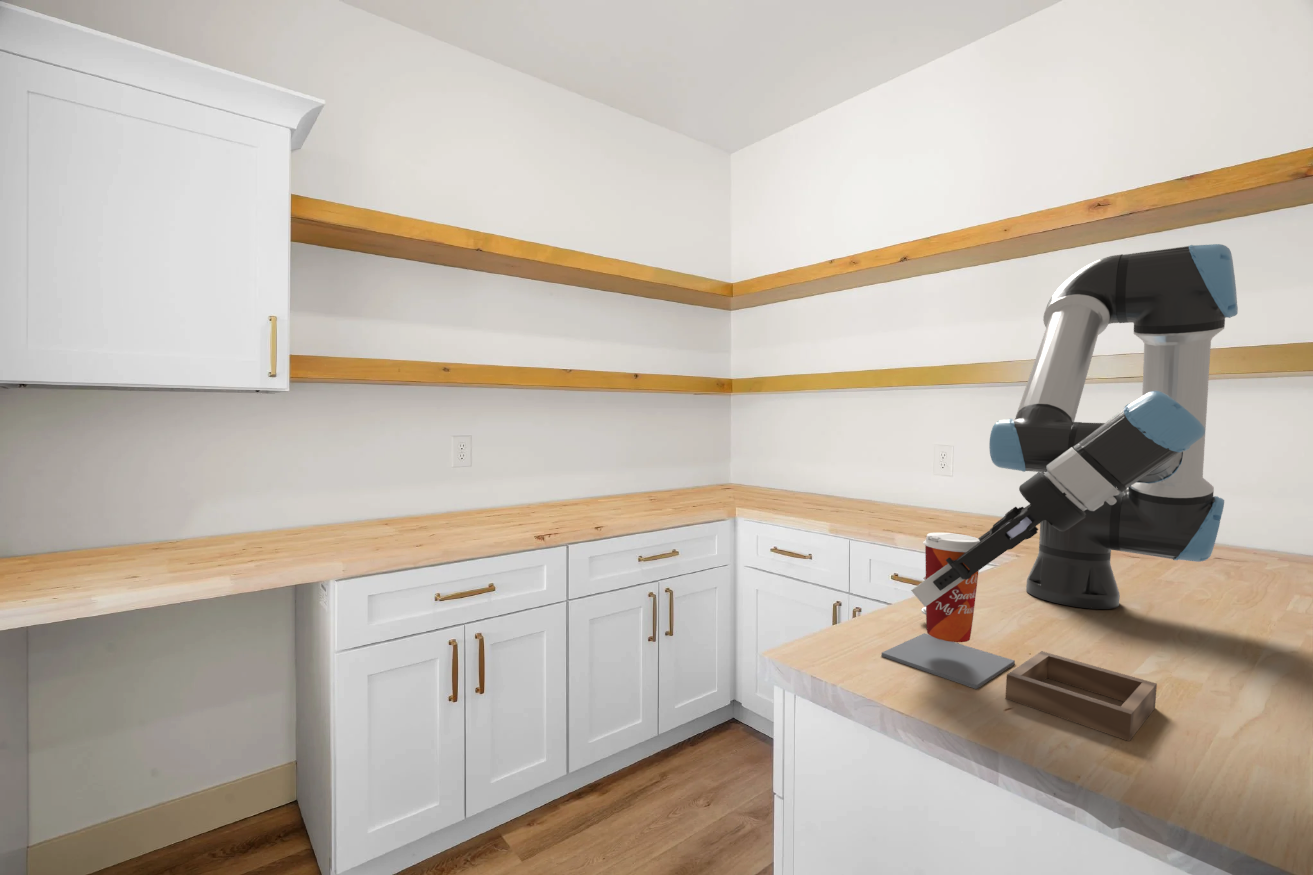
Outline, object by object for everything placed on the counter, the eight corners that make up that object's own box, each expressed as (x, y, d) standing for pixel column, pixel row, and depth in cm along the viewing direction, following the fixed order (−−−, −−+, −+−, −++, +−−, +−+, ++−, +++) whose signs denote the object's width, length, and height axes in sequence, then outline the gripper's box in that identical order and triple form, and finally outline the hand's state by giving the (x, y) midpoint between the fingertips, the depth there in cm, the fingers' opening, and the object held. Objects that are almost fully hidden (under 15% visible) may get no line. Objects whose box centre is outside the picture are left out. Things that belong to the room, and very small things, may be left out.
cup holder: (1040, 672, 84) (1041, 651, 84) (1155, 707, 75) (1156, 683, 74) (1005, 698, 76) (1006, 674, 76) (1129, 741, 66) (1131, 714, 66)
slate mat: (924, 636, 96) (924, 633, 96) (1014, 663, 87) (1014, 660, 87) (881, 655, 88) (881, 652, 88) (976, 689, 78) (976, 685, 78)
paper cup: (944, 646, 82) (950, 543, 82) (907, 627, 90) (911, 532, 89) (992, 643, 84) (998, 541, 84) (951, 624, 92) (956, 531, 91)
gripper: (1091, 525, 69) (929, 633, 79) (1088, 505, 86) (955, 596, 96) (1039, 474, 72) (888, 584, 81) (1045, 464, 89) (920, 557, 98)
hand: (924, 591), depth 89 cm, fingers closed on paper cup, 8 cm apart
